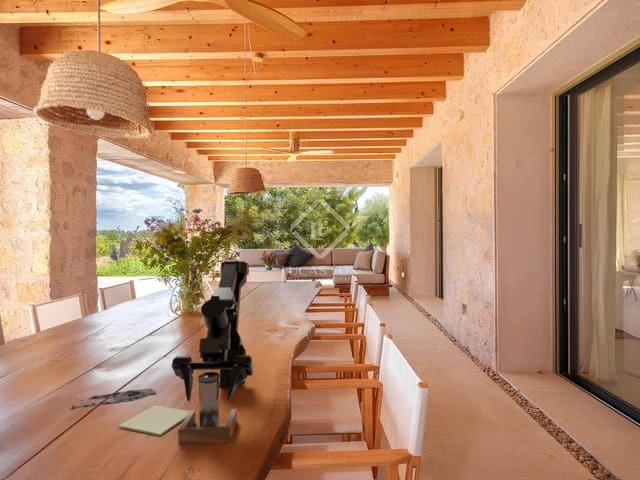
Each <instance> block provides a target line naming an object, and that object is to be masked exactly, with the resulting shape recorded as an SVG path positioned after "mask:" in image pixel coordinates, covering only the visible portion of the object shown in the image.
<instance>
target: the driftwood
mask: <svg viewBox="0 0 640 480" xmlns="http://www.w3.org/2000/svg"><path fill="white" fill-rule="evenodd" d="M150 396H157V391H156V390H155V389H152V388H143V389H130V390H127V391H115V392H111V393H106V394H102V395H99V394H98V395H93V396H90V397H89V398H88V400H102V401H100V402H99V403H91V402H90V403H88V404H87V403H86V404H84V403H83V401H84V400H83V399H82V400H79V402H81V404H78V405H75V404H71V407H72V408H78V409H79V408H83V407H91V406H99V405H103V404H104V405H105V404H114V403H122V402H129V401H139V400H142V399H143V398H146V397H150ZM105 399H106V400H105ZM107 399H108V400H109V401H107ZM103 400H104V401H103Z"/></svg>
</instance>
